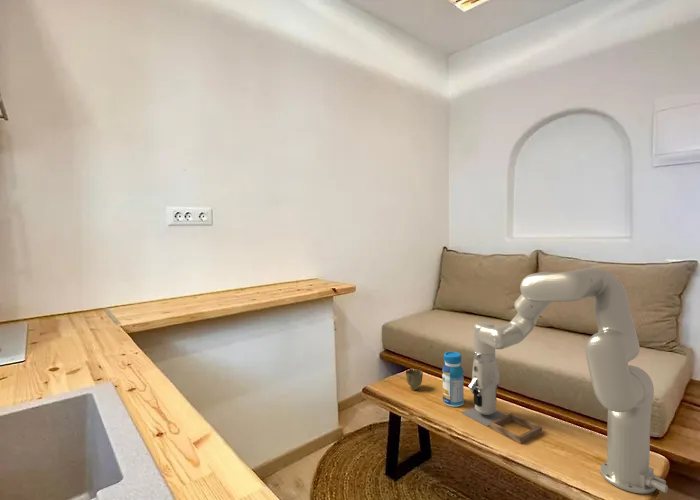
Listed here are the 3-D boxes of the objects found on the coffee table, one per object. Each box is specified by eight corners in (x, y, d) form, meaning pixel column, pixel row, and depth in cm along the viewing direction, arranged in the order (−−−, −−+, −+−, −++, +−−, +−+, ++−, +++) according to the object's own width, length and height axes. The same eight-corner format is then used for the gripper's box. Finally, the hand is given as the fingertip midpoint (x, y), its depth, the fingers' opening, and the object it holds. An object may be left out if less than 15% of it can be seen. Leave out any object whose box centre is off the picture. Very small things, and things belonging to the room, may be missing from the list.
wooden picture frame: (542, 432, 132) (542, 427, 132) (520, 443, 126) (520, 437, 126) (511, 418, 142) (511, 413, 142) (489, 427, 136) (489, 422, 136)
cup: (403, 386, 173) (403, 368, 173) (419, 384, 174) (419, 367, 174) (409, 393, 166) (409, 375, 165) (425, 391, 167) (425, 373, 167)
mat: (509, 417, 143) (509, 416, 143) (487, 426, 137) (487, 425, 137) (482, 404, 153) (482, 403, 153) (461, 413, 147) (461, 412, 147)
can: (497, 416, 140) (497, 384, 140) (476, 415, 142) (475, 383, 141) (494, 407, 148) (493, 376, 147) (473, 405, 149) (473, 375, 148)
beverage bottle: (460, 409, 150) (460, 358, 149) (439, 404, 155) (438, 355, 153) (466, 400, 157) (466, 352, 156) (446, 396, 162) (445, 349, 161)
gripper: (476, 363, 136) (477, 412, 137) (508, 354, 145) (508, 400, 146) (460, 358, 142) (461, 404, 143) (491, 349, 151) (492, 393, 152)
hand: (485, 402), depth 145 cm, fingers closed on can, 7 cm apart
